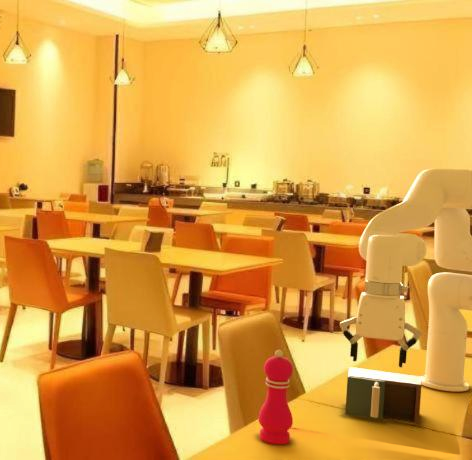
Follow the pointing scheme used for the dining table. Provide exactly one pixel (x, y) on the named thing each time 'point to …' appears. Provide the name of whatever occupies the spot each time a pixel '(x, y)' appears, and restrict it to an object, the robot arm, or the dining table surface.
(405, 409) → the cabinet
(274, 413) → the pepper mill
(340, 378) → the dining table surface
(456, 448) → the dining table surface
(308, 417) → the dining table surface
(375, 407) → the sliding door
